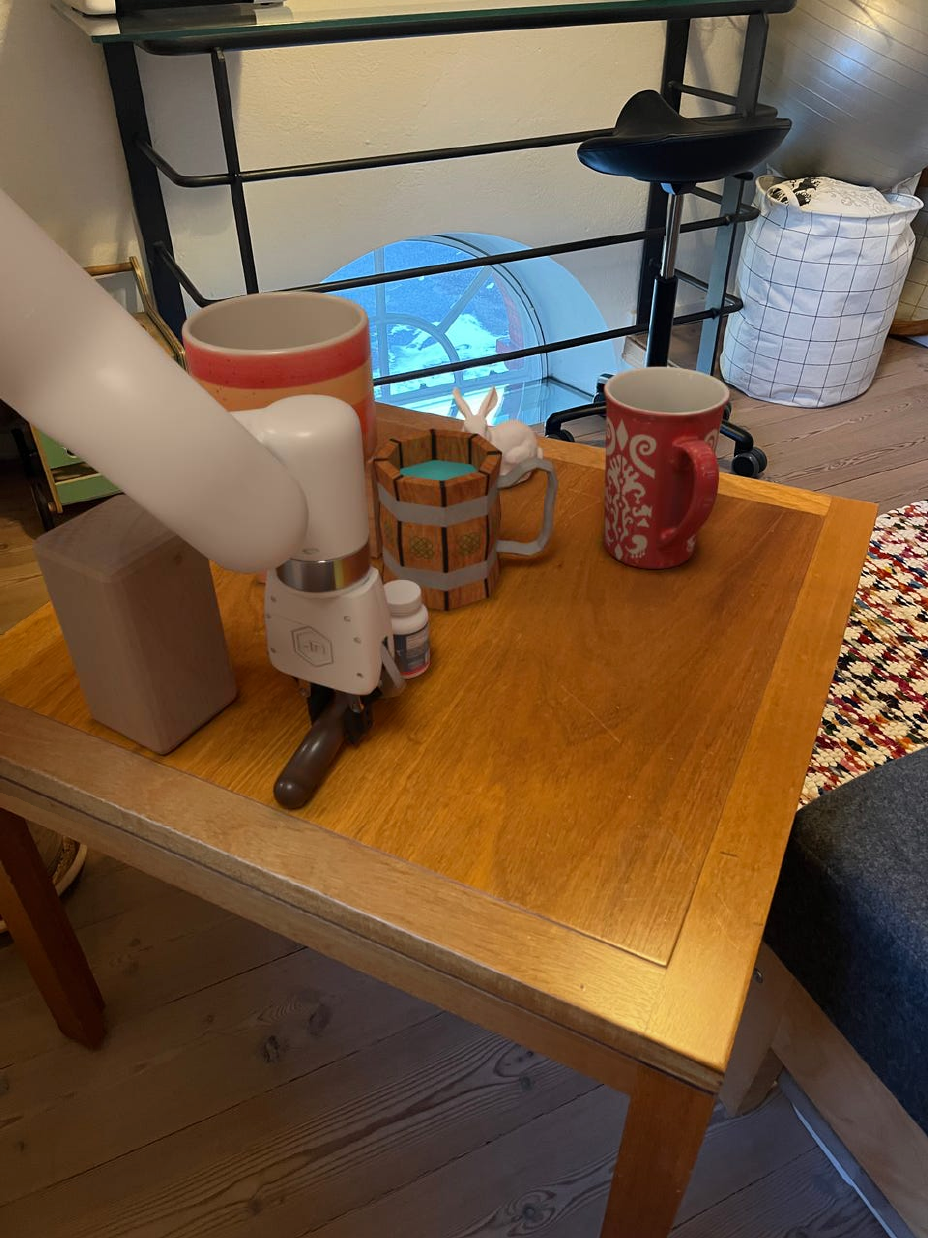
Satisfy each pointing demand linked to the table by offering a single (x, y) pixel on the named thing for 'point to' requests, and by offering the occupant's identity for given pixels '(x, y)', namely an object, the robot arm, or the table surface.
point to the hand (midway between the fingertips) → (342, 727)
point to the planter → (289, 361)
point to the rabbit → (500, 433)
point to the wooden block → (138, 622)
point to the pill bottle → (409, 626)
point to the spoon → (315, 751)
